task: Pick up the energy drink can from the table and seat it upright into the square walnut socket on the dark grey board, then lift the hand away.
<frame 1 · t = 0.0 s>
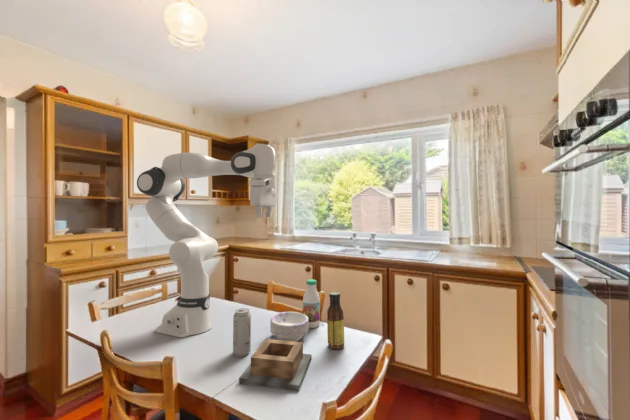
hand: (264, 217, 118), 48 cm above the table, tool pointing down, fingers open, 8 cm apart
socket holder: (278, 370, 91), on the table
sauce bottle: (335, 346, 108), on the table
paper bowls: (289, 338, 115), on the table
energy drink can: (241, 353, 102), on the table
milk bottle: (311, 325, 128), on the table
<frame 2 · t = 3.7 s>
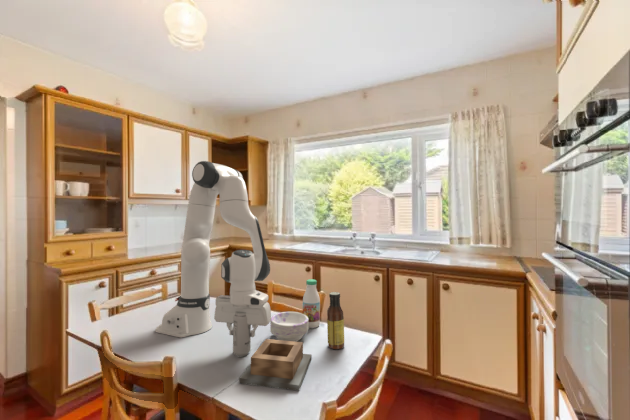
hand: (242, 335, 102), 6 cm above the table, tool pointing down, fingers closed on energy drink can, 6 cm apart
energy drink can: (241, 353, 102), on the table, touching gripper
everything else where it was.
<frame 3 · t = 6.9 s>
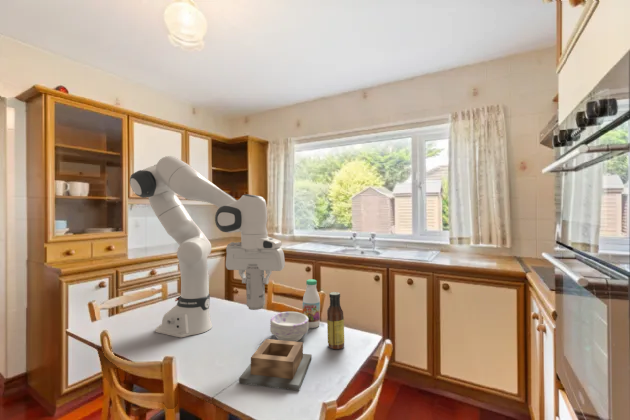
hand: (255, 283, 97), 26 cm above the table, tool pointing down, fingers closed on energy drink can, 6 cm apart
energy drink can: (255, 308, 97), point 17 cm above the table, touching gripper
everything else where it was.
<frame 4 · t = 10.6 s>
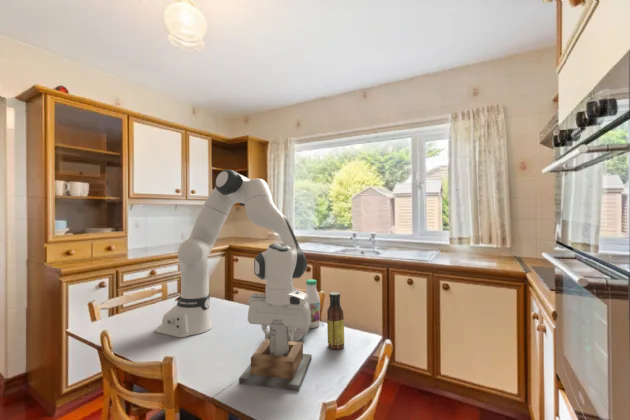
hand: (279, 339, 91), 10 cm above the table, tool pointing down, fingers closed on energy drink can, 6 cm apart
energy drink can: (278, 365, 91), point 1 cm above the table, touching gripper, socket holder
everything else where it was.
when the fingers open (10 cm above the table, at t = 10.6 s): energy drink can stays where it is, resting on socket holder.
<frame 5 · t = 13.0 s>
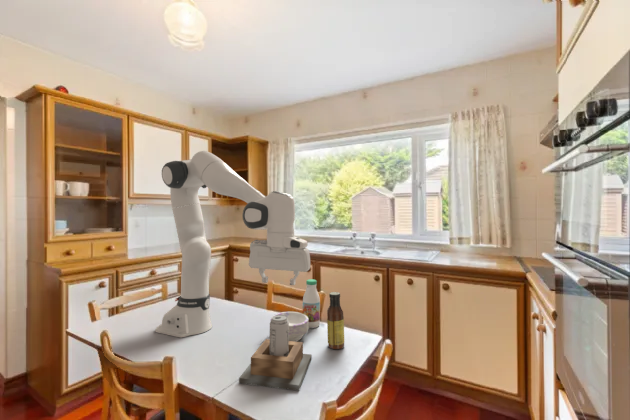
hand: (278, 283, 94), 27 cm above the table, tool pointing down, fingers open, 8 cm apart
energy drink can: (278, 365, 91), point 1 cm above the table, touching socket holder
everything else where it was.
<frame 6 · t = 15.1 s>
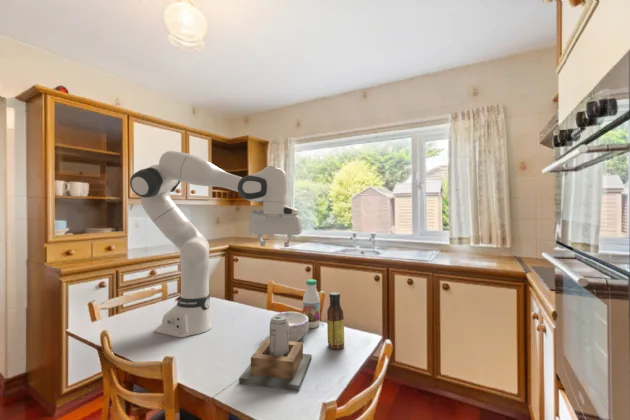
hand: (274, 246, 109), 37 cm above the table, tool pointing down, fingers open, 8 cm apart
nothing on the table moved.
at the end: energy drink can 0.3 cm off-centre on the socket holder, point 1.3 cm above the socket holder's base; energy drink can tilted 0°; the gripper is holding nothing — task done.
